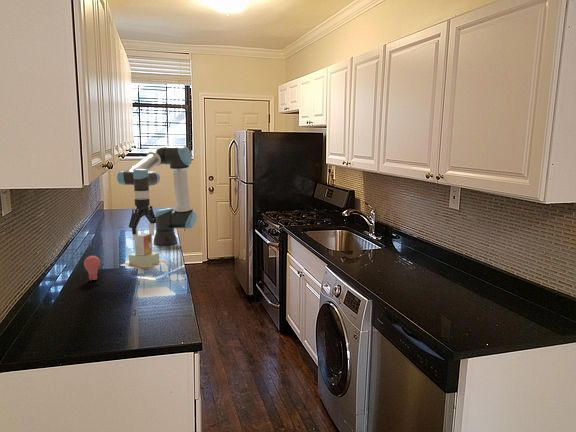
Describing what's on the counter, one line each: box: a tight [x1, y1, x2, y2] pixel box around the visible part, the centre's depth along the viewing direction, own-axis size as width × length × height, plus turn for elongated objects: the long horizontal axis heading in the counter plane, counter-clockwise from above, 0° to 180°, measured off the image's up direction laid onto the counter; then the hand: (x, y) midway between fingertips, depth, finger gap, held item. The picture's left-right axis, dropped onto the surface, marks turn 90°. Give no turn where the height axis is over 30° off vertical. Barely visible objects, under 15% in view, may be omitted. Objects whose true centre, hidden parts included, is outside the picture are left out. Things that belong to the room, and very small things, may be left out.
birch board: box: [119, 259, 169, 270], centre depth 237 cm, size 18×18×1 cm
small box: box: [134, 233, 153, 256], centre depth 235 cm, size 8×6×10 cm
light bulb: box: [83, 255, 101, 281], centre depth 208 cm, size 7×7×12 cm
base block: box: [128, 251, 160, 266], centre depth 236 cm, size 10×12×5 cm
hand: (143, 237), depth 235 cm, fingers open, 13 cm apart
